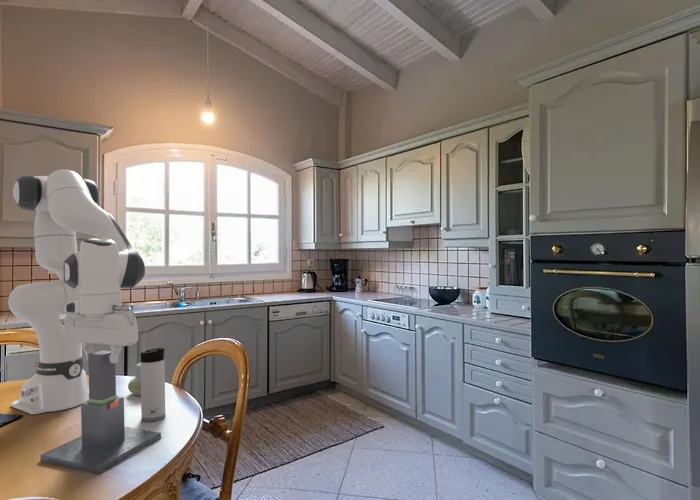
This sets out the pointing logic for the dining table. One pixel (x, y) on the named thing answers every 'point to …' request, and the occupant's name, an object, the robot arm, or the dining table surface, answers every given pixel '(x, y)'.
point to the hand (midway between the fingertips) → (102, 361)
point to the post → (101, 378)
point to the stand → (101, 439)
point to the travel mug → (152, 385)
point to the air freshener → (136, 382)
